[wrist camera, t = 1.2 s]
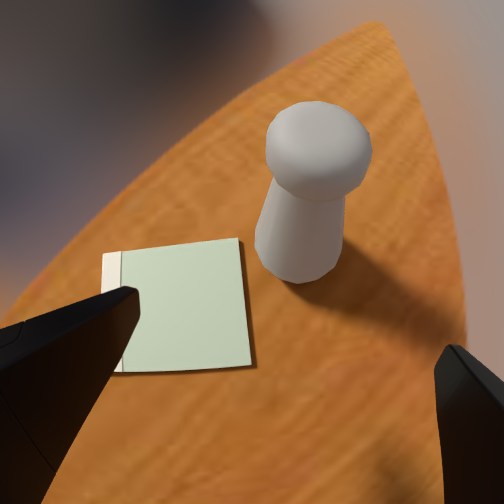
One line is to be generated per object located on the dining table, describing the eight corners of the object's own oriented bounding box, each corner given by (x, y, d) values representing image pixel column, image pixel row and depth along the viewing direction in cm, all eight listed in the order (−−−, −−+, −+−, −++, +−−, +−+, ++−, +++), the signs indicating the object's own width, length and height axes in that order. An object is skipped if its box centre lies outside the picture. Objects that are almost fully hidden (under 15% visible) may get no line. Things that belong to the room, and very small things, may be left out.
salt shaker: (340, 227, 24) (397, 101, 12) (326, 300, 22) (395, 211, 10) (266, 209, 25) (266, 70, 13) (245, 279, 23) (224, 170, 11)
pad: (251, 364, 21) (251, 364, 20) (105, 371, 20) (102, 371, 20) (238, 239, 24) (237, 236, 23) (105, 255, 24) (102, 253, 23)
